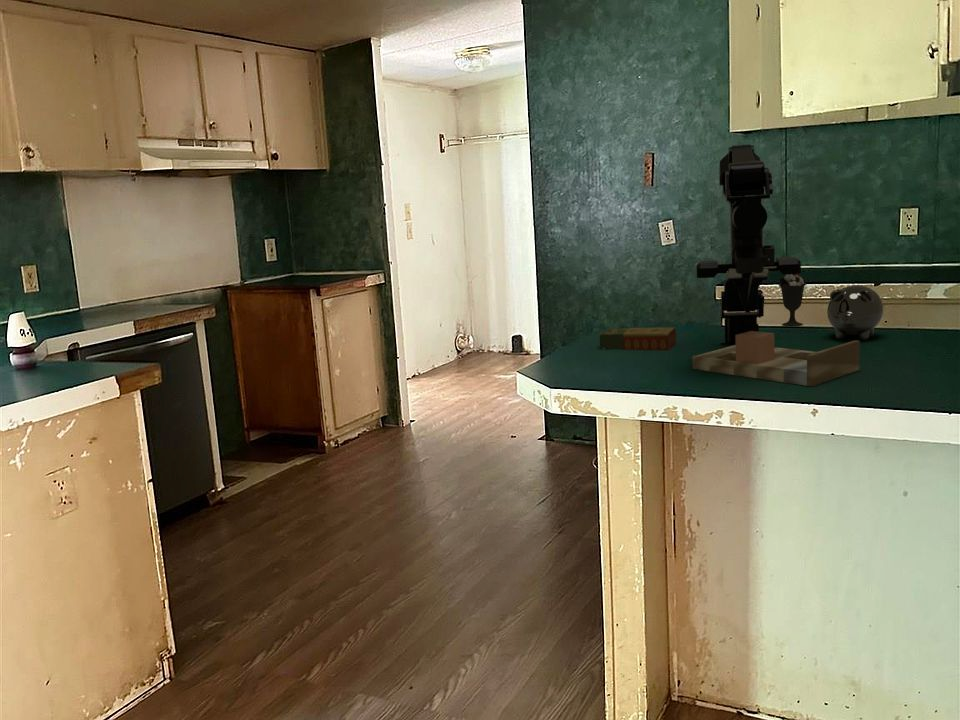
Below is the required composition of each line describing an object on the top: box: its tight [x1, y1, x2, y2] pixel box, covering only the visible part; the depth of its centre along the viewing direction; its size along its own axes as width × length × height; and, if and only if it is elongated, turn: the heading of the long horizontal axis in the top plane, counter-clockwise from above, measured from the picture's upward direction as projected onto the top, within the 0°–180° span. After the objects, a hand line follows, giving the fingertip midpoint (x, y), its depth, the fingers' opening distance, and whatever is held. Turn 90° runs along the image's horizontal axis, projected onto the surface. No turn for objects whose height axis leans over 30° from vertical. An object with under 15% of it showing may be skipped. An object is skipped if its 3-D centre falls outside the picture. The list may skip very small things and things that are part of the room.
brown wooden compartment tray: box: [692, 339, 861, 387], centre depth 158 cm, size 26×16×6 cm, turn 38°
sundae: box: [777, 273, 808, 328], centre depth 202 cm, size 7×7×15 cm
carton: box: [599, 326, 677, 351], centre depth 190 cm, size 8×16×4 cm, turn 65°
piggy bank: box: [826, 284, 884, 341], centre depth 182 cm, size 11×15×12 cm
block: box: [736, 331, 775, 364], centre depth 156 cm, size 5×5×5 cm
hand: (747, 312), depth 159 cm, fingers closed
